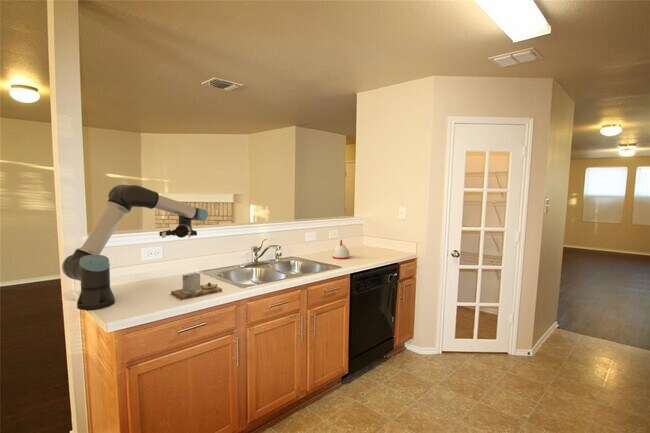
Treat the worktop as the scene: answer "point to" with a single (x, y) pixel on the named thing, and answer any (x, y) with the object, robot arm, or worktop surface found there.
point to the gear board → (197, 291)
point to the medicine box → (191, 282)
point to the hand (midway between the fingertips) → (175, 235)
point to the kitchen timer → (340, 252)
